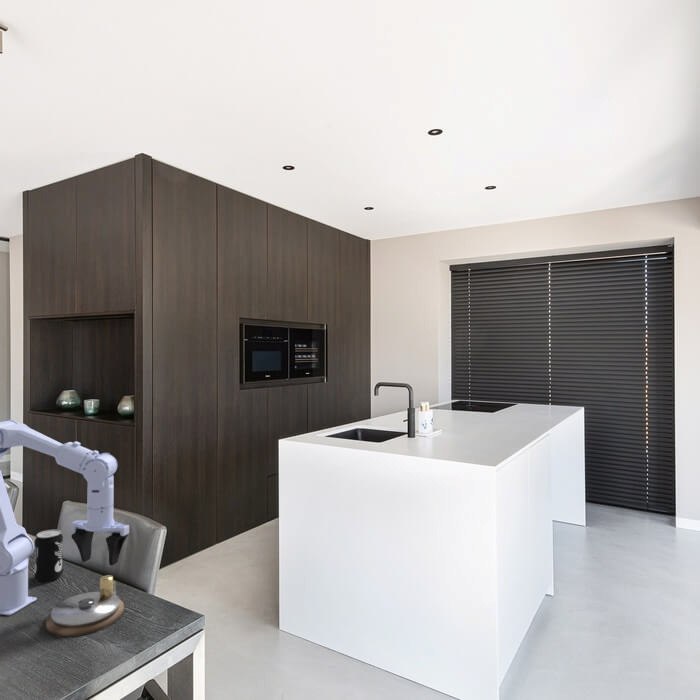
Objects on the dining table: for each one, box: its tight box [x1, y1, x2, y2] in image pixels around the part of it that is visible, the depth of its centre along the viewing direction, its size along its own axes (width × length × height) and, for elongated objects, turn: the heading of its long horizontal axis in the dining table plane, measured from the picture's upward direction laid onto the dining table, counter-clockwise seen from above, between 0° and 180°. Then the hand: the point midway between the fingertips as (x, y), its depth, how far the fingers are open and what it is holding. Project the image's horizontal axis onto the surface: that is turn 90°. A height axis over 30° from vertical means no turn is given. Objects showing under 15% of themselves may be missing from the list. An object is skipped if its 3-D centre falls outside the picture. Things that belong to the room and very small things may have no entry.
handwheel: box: [50, 574, 120, 628], centre depth 120 cm, size 14×14×6 cm
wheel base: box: [45, 580, 125, 637], centre depth 121 cm, size 16×18×4 cm
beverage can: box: [33, 529, 64, 583], centre depth 140 cm, size 7×7×12 cm
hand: (99, 562), depth 125 cm, fingers open, 7 cm apart
